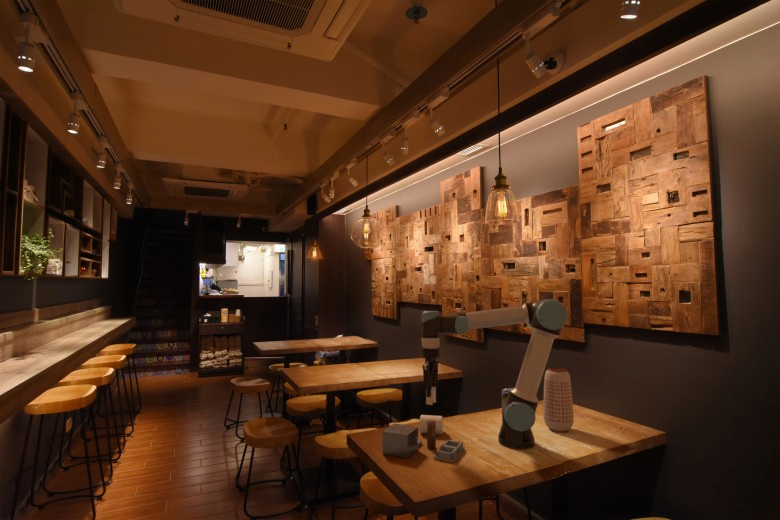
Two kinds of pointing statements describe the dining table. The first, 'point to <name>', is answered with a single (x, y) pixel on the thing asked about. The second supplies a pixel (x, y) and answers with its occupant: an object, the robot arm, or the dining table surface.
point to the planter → (558, 400)
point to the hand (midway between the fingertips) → (431, 403)
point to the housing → (400, 440)
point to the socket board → (449, 451)
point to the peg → (431, 434)
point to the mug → (428, 417)
